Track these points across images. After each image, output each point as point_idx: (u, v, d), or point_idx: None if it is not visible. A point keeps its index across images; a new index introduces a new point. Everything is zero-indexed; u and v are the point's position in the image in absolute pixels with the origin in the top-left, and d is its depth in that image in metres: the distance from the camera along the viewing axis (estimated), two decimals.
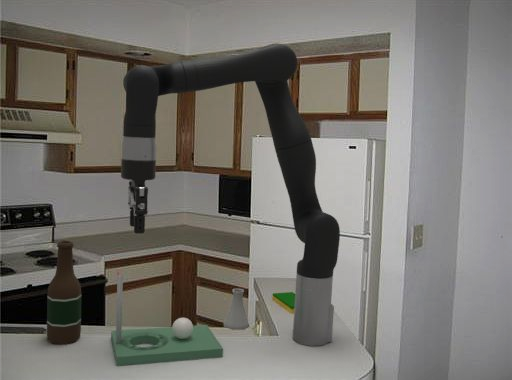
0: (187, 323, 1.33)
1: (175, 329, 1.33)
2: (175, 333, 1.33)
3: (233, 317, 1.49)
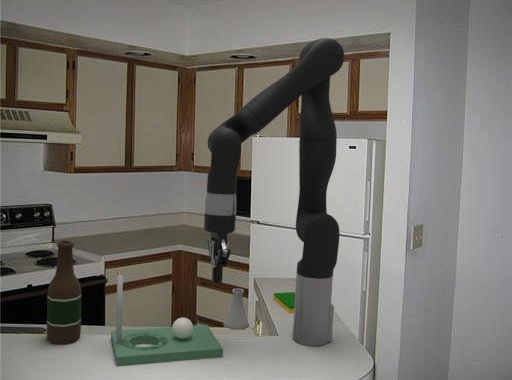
0: (187, 323, 1.33)
1: (175, 329, 1.33)
2: (175, 333, 1.33)
3: (233, 317, 1.49)
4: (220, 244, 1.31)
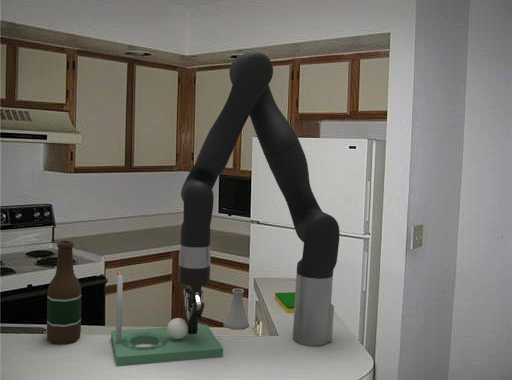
0: (179, 323, 1.33)
1: (170, 332, 1.32)
2: (171, 336, 1.33)
3: (233, 317, 1.49)
4: (194, 297, 1.31)
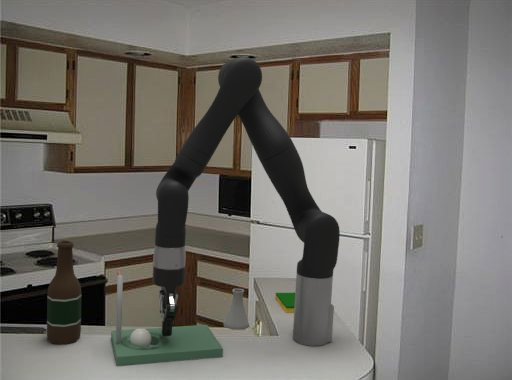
0: None
1: (148, 336, 1.31)
2: (145, 333, 1.31)
3: (233, 317, 1.49)
4: (168, 298, 1.29)
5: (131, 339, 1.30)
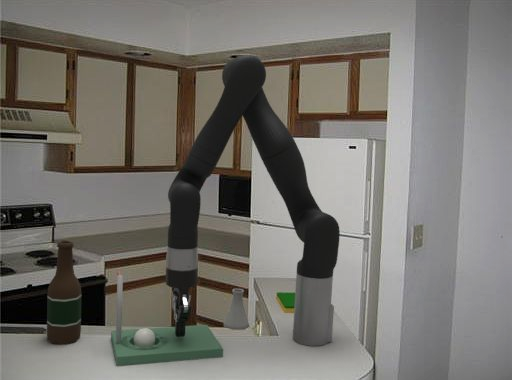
0: None
1: (153, 339, 1.31)
2: (152, 335, 1.31)
3: (233, 317, 1.49)
4: (181, 299, 1.30)
5: (137, 335, 1.30)
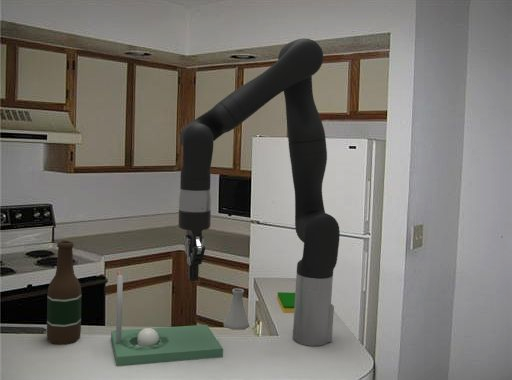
0: None
1: (157, 341, 1.32)
2: (157, 337, 1.32)
3: (233, 317, 1.49)
4: (194, 241, 1.29)
5: (142, 333, 1.31)
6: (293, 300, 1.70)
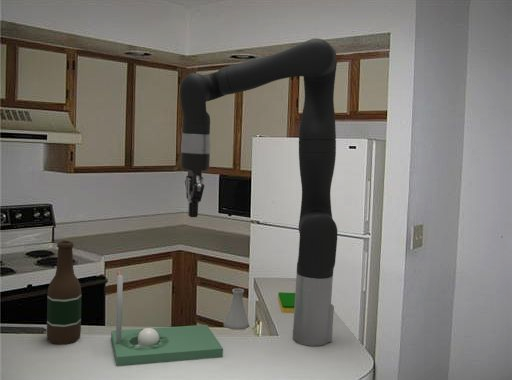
0: None
1: (157, 341, 1.32)
2: (157, 337, 1.32)
3: (233, 317, 1.49)
4: (195, 180, 1.44)
5: (143, 333, 1.31)
6: (293, 300, 1.70)
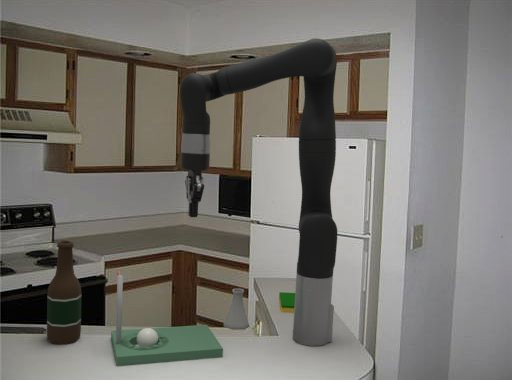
0: None
1: (156, 341, 1.32)
2: (156, 336, 1.32)
3: (233, 317, 1.49)
4: (195, 180, 1.44)
5: (141, 333, 1.31)
6: (293, 300, 1.70)
